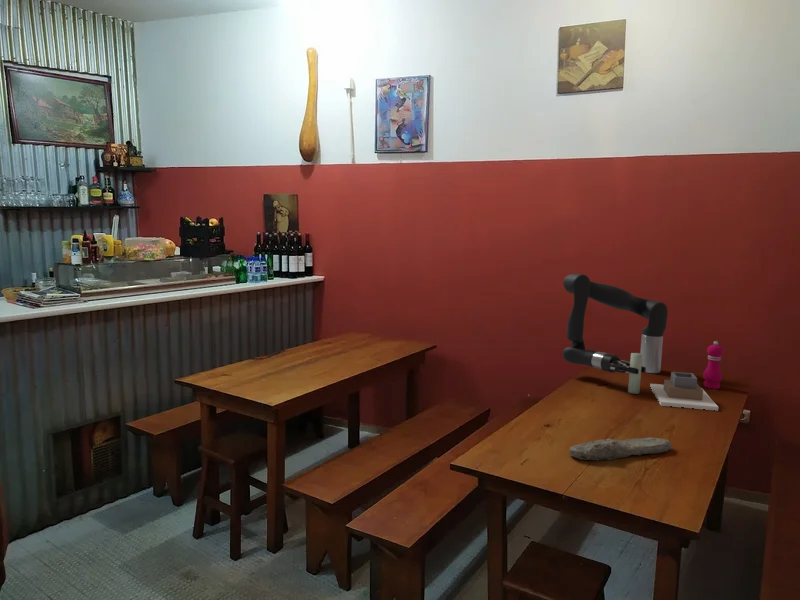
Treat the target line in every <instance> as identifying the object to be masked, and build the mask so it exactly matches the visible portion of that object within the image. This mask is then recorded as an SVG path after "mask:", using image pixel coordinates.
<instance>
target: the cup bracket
mask: <svg viewBox="0 0 800 600" xmlns="http://www.w3.org/2000/svg"><path fill="white" fill-rule="evenodd" d="M649 387H651V388H650V389H652V390H651V392H652V393H653V395H654V394H655V395H654V396H655V398H656V400H657V399H658V400H657V402H658V401H659V402H658V403H659V405H660V406H661V407H670V406H672V408H673V407H674V408H681V407H684V409H692V408H694V410H695V409H696V410H703V409H705V410H707V411H714V410H715V412H716V411H717V412H719V406H718V405H717V404H716V402H715V401H714V400H713V399H712V398H711V397H710V396H709V395H708V393H707V392H706V391H705V390H704V389H703V388H702V387H701V386H700V385H699V384H698V378H697V377H696V375H695V374H694V373H693V372H679V371H671V372H670V379H664V380H663V384H660V383H659V384H658V383H650V384H649ZM705 410H704V411H705Z"/></svg>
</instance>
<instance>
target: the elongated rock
mask: <svg viewBox="0 0 800 600" xmlns="http://www.w3.org/2000/svg"><path fill="white" fill-rule="evenodd" d="M672 447H673V445H672V444H671V441H670V440H669V439H666V438H659V437H657V438H656V437H644V438H641V437H639V438H628V439H622V440H621V439H613V438H607V439H605V438H602V439H596V440H590V441H588V442H583V443H580V444H575V445H572V446H570V447H569V455H570V456H571V457H572V458H573V457H574V458H575V459H579V460H581V461H582V460H585V461H587V460H588V461H604V460H606V461H611V460H617V459H621V458H627V457H630V456H642V455H647V454H648V455H653V454H655V455H656V454H661V453H663V452H664V453H665V452H668V451H670V450H672V449H673V448H672Z"/></svg>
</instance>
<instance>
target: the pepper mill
mask: <svg viewBox="0 0 800 600" xmlns="http://www.w3.org/2000/svg"><path fill="white" fill-rule="evenodd" d="M706 353H707V354H708V355H707V359H708V364H707V367H706V369H705V370H704V371H703V374H702V375H703V377H702V378H703V380H704V381H703V387H704V386H705V388H707V387H708V388H707V389H711V388H713V389H712V390H717V389H720V388H721V383H720V382H721V381H722V380H723V374H722V372H721V368H720V361H721V360H722V355H723V353H724V349H723V347H722V346H721V345H719V342H718V341H717V340H716V341H715V340H714V341H713V344H710V345H709V346H708V347H707V350H706Z"/></svg>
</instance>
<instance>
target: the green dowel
mask: <svg viewBox="0 0 800 600" xmlns="http://www.w3.org/2000/svg"><path fill="white" fill-rule="evenodd" d="M630 367H633V368H637V369H639V373H638V374H633V373H628V375H629V376H628V387H627V392H628V393H629V394H632V395H633V394H636V395H637V394H640V391H641V390H640V389H641V381H642V380H641V377H642V372H641V367H642V354H640V352H631V353H630Z"/></svg>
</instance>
